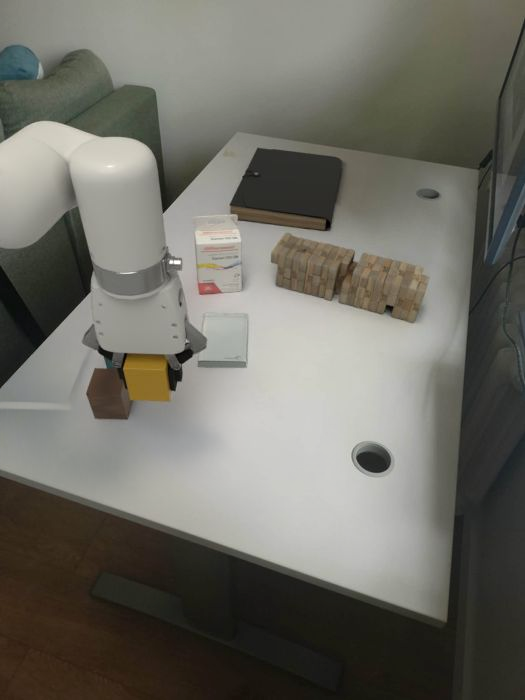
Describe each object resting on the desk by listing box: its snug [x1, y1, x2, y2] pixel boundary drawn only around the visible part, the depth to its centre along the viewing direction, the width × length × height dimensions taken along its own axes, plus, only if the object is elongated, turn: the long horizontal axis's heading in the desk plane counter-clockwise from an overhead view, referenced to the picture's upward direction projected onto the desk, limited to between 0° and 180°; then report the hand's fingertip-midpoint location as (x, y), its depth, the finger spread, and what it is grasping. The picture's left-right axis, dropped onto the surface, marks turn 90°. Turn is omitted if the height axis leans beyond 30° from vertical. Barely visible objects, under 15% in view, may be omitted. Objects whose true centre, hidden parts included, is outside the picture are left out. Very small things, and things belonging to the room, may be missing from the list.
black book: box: [229, 147, 343, 232], centre depth 126 cm, size 33×4×24 cm
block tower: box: [270, 232, 430, 324], centre depth 96 cm, size 8×8×29 cm
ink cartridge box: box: [193, 214, 243, 295], centre depth 94 cm, size 9×5×15 cm, turn 100°
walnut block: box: [85, 367, 133, 420], centre depth 75 cm, size 5×5×6 cm
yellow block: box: [123, 353, 173, 403], centre depth 62 cm, size 5×5×6 cm
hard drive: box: [197, 312, 249, 369], centre depth 87 cm, size 2×8×12 cm
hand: (152, 381), depth 64 cm, fingers closed on yellow block, 5 cm apart
